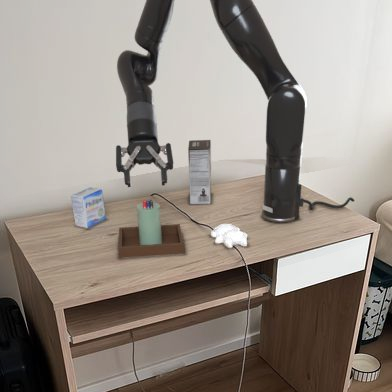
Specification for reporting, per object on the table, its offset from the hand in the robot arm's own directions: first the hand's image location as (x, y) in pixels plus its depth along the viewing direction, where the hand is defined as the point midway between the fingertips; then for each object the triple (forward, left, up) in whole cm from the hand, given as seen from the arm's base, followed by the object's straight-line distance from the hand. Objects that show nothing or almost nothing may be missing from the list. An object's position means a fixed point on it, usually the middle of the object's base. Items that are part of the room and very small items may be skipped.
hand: (146, 184), depth 135 cm
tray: (0, +8, -13) cm, 15 cm away
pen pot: (0, +8, -12) cm, 15 cm away
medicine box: (+16, -10, -13) cm, 23 cm away
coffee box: (-16, -24, -13) cm, 32 cm away
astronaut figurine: (-20, +7, -13) cm, 25 cm away
